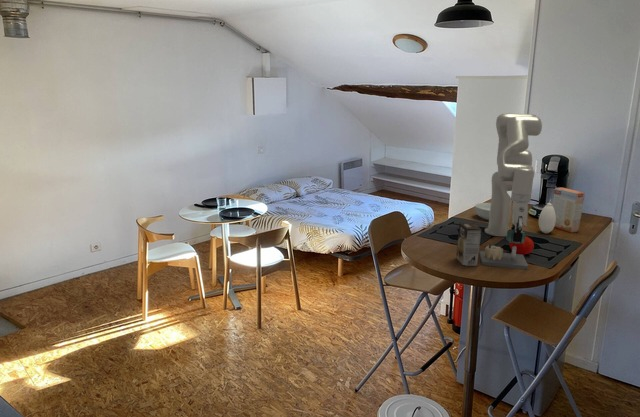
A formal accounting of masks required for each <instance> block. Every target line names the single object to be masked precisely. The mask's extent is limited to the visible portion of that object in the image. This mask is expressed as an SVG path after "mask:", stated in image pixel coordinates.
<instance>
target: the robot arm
mask: <svg viewBox="0 0 640 417" xmlns="http://www.w3.org/2000/svg"><path fill="white" fill-rule="evenodd" d="M542 123H543V122H542V119H541V118H540V117H539V116H537V115H536V114H532V113H511V112H509V113H501V114H499V115H498V116H497V117H496V122H495V126H496V132H497V135H498V136H497V137H498V145H497V155H496V165H497V171H496V172H494V173H492V176H491V197H490V198H491V199H490V203H491V207H490V216H489V220H488V226H487V227H485V228H484V233H485V234H486V235H490V236H494V237H501V238H504V237H507V231H508V230H509V226H510V217H511V228H510V230H514V229H515V232H514V236H513V241H514V242H521V240H522V231H523V227H527V223H528V211H529V203H531V199H532V192H533V184H534V177H535V169H534V166H532V165H533V155H532V152H531V151H530V150H528V148H529V145H530V143H529V136H533V137H536V136H540V134H542V133H541V132H542V131H543V130H542V129H543V124H542ZM508 192H511V196H510V195H509V193H508ZM512 202H513V203H512ZM511 207H512V208H511Z"/></svg>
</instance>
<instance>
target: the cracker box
mask: <svg viewBox="0 0 640 417" xmlns="http://www.w3.org/2000/svg"><path fill="white" fill-rule="evenodd" d="M553 192H554V193H553V200H552V206H553V208H554V210H555V214H556V223H555V226H554V228H556V229H559V230H562V231H565V232H567V233H579V230H580V224H581V218H582V212H583V205H584V199H585V192H583V191H579V190H576V189H575V190H574V189H570V188H566V187H560V186H559V187H554V191H553Z"/></svg>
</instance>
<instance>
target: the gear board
mask: <svg viewBox="0 0 640 417" xmlns="http://www.w3.org/2000/svg"><path fill="white" fill-rule="evenodd" d="M484 249H485V250H479V258H480V263H481V265H482V266H488V267H500V268H507V269H508V268H509V269H520V270H528V269H529V264H528V263H527V261H526V259H525V255H521V254H516V246H513V247H512V250H511V252H510V253H507V252H504V248H502V247H501V246H496V245H492V243H488V245H487V246H485V247H484Z"/></svg>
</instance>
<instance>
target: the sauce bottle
mask: <svg viewBox="0 0 640 417" xmlns="http://www.w3.org/2000/svg"><path fill="white" fill-rule="evenodd" d="M551 202H552V200H551V198H550V199H549V202H547V203H546V205H545V206H543V208H542V210H541V212H540V214H539V217H538V226H539V230H540V231H541V232H542V233H543V234H549V233H550V232H552V231H553V230H554V229H555V227H554V226H555V223H556V214H555V210H554V208H553V203H551Z"/></svg>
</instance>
